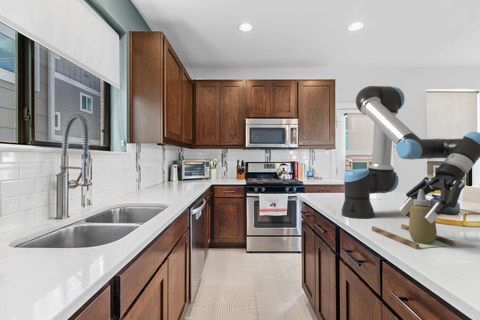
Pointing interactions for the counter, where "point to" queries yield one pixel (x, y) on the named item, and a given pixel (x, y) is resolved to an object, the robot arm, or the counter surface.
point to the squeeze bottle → (421, 221)
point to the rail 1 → (396, 237)
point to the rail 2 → (438, 238)
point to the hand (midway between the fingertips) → (414, 216)
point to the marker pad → (434, 244)
